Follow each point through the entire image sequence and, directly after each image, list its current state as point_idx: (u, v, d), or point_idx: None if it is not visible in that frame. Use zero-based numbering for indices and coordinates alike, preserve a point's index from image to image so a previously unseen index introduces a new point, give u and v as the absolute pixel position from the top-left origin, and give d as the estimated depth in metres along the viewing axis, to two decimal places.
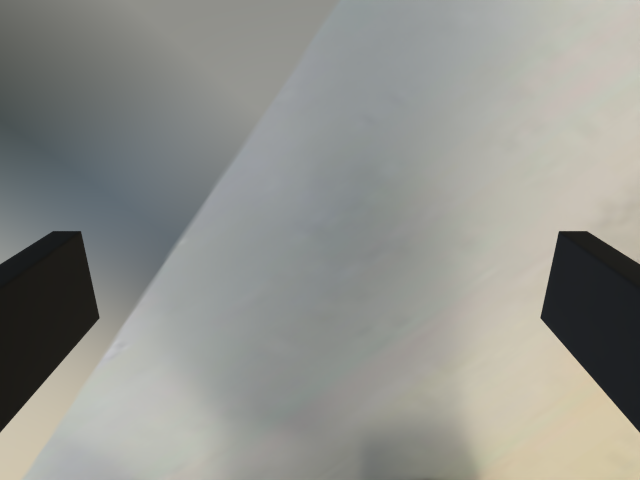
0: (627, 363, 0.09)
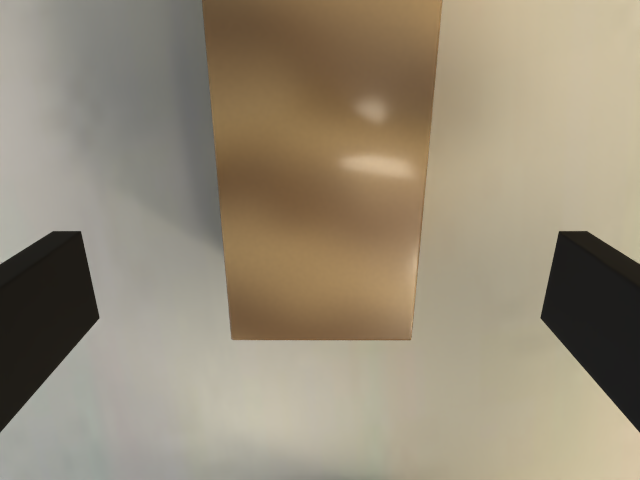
0: (627, 363, 0.09)
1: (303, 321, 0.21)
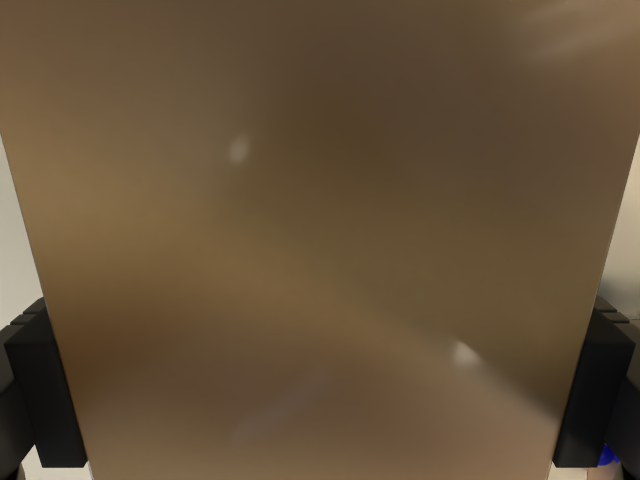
0: None
1: None
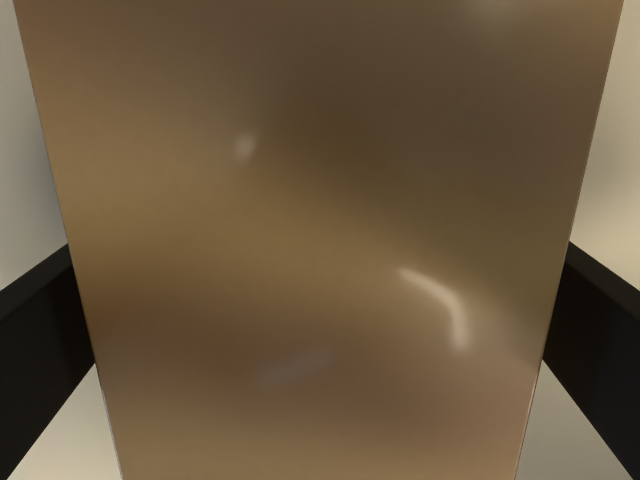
0: (571, 345, 0.10)
1: None
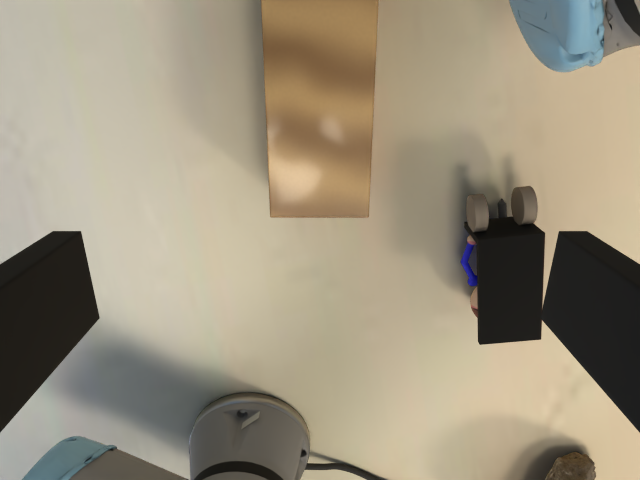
0: (627, 363, 0.09)
1: (309, 206, 0.39)
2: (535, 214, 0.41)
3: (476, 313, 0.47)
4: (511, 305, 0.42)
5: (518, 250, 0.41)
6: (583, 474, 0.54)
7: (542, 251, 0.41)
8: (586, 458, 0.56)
